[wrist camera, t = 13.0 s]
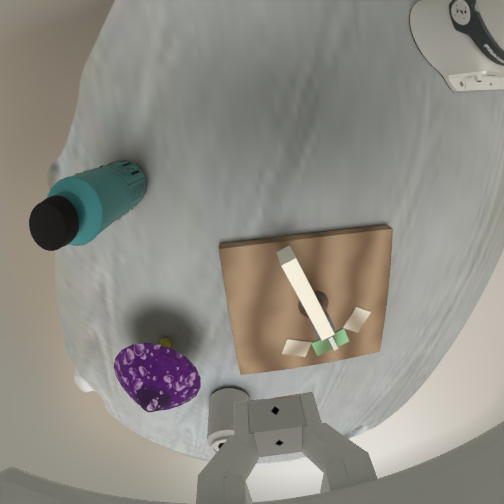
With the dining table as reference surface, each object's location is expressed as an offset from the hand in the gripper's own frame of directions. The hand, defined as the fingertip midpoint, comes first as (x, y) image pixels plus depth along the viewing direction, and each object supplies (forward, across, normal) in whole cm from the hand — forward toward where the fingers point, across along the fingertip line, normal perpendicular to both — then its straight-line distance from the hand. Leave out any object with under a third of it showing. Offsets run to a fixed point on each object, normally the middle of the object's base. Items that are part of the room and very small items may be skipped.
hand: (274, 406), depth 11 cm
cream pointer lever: (+29, -8, +13) cm, 32 cm away
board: (+31, -8, +14) cm, 35 cm away
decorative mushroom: (+31, +15, +19) cm, 40 cm away
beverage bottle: (+31, +15, -6) cm, 35 cm away
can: (+31, +7, +34) cm, 47 cm away
